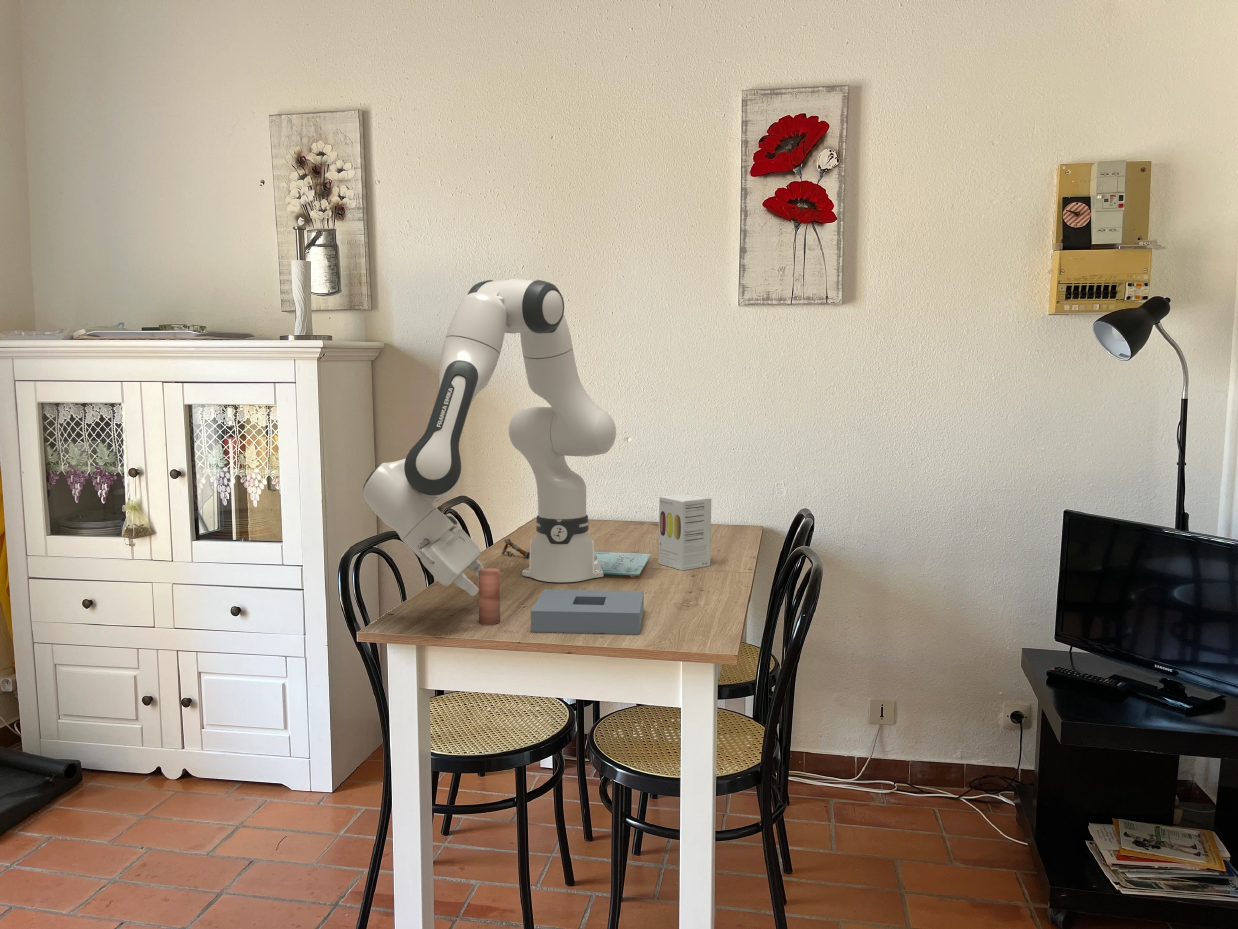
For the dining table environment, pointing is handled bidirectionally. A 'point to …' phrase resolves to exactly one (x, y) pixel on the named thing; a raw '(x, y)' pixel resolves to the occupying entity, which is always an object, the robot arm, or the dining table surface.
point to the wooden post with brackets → (508, 542)
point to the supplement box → (684, 531)
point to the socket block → (588, 611)
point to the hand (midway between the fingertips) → (482, 586)
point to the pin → (489, 596)
